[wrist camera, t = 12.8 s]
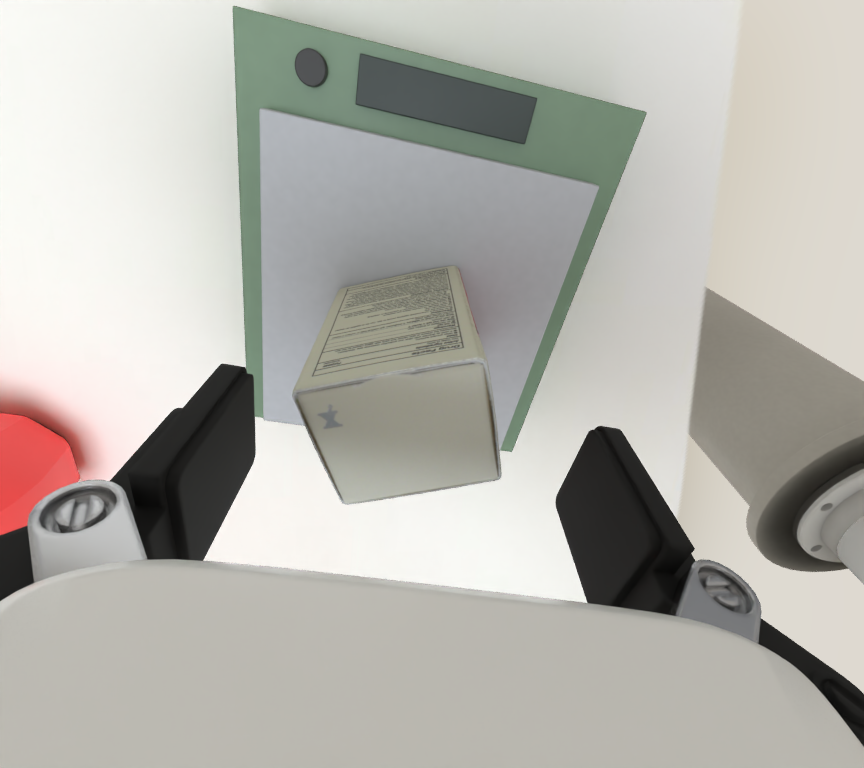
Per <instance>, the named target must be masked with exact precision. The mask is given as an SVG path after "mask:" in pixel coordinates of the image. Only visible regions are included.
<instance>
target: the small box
mask: <svg viewBox="0 0 864 768" xmlns="http://www.w3.org/2000/svg"><path fill="white" fill-rule="evenodd" d="M292 398H293V400H294V402H295V404H296V406H297V408H298V411H299V413H300V415H301V418H302V420H303V422H304V425H305V427H306V429H307V431H308V434H309V436H310V438H311V441H312V443H313V445H314V448H315V450H316V451H317V453H318V456H319V458H320V460H321V462H322V464H323V466H324V469H325V471H326V472H327V474H328V476H329V478H330V480H331V482H332V484H333V486H334V488H335V490H336V492H337V494H338V496H339V499H340V500H341V502H342V503H343V504H356V503H362V502H369V501H376V500H383V499H390V498H396V497H402V496H408V495H414V494H421V493H427V492H433V491H439V490H444V489H450V488H457V487H462V486H467V485H473V484H478V483H483V482H489V481H495V480H499V479H500V478H501V463H500V453H499V442H498V432H497V423H496V414H495V406H494V398H493V391H492V385H491V378H490V372H489V365H488V360H487V358H486V355H485V352H484V349H483V346H482V343H481V340H480V337H479V333H478V331H477V327H476V324H475V321H474V317H473V315H472V311H471V308H470V305H469V301H468V297H467V293H466V290H465V287H464V283H463V280H462V277H461V273H460V270H459V268H458V267H457V266H447V267H442V268H436V269H430V270H425V271H420V272H415V273H410V274H405V275H400V276H396V277H391V278H387V279H382V280H377V281H372V282H368V283H363V284H359V285H354V286H349V287H345V288H341V289H340V290H339V291H338V292H337V295H336V297H335V299H334V301H333V303H332V306H331V308H330V310H329V312H328V314H327V317H326V319H325V321H324V323H323V325H322V328H321V330H320V332H319V334H318V336H317V338H316V341H315V343H314V345H313V347H312V350H311V352H310V354H309V356H308V358H307V360H306V363H305V365H304V367H303V369H302V372H301V374H300V376H299V378H298V381H297V383H296V385H295V387H294V389H293V392H292Z"/></svg>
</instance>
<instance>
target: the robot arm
mask: <svg viewBox="0 0 864 768" xmlns="http://www.w3.org/2000/svg"><path fill="white" fill-rule="evenodd" d="M254 458H255V408H254V377H253V375H252V374H248V373H247V370H246V368H245V367H240V366H234V365H228V364H221V365H220V366H219V367H218V368H217V369H216V370H215V371H214V373H213V374H212V375H211V376H210V377H209V378H208V379H207V381H206V382H205V383H204V384H203V385H202V386H201V388H200V389H199V390H198V391H197V392H196V393H195V395H194V396H193V397H192V398H191V399H190V400H189V402H188V403H187V404H186V405H185V406H184V407H183V408H177V409H174V410H173V411H172V412H171V413H170V414H169V415H168V416H167V417H166V418H165V420H164V421H163V422H162V423H161V424H160V425H159V426H158V427H157V429H156V430H155V431H154V432H153V433H152V434H151V435H150V436H149V438H148V439H147V440H146V441H145V442H144V443H143V444H142V445H141V447H140V448H139V449H138V450H137V451H136V452H135V453H134V454H133V456H132V457H131V458H130V459H129V460H128V461H127V462H126V463H125V465H124V466H123V467H122V468H121V469H120V470H119V471H118V472H117V474H116V475H115V476H114V477H113V478H112V479H111V480H110V481H105V480H87V481H82V482H77V483H73V484H70V485H67V486H65V487H62V488H59V489H57V490H56V491H54V492H52V493H50V494H49V495H47V496H45V497H44V498H43V499H42V500H41V501H40V502H38V503H37V504H36V505H35V507H34V508H33V509H32V511H31V512H30V514H29V517H28V523H27V526H25V527H22V528H19V529H16V530H14V531H11V532H8V533H5V534H3V535H0V768H864V694H863V693H862V692H861V691H860V690H859V689H858V688H857V687H856V686H855V685H853V684H852V683H851V682H850V681H848V680H847V679H846V678H844V677H843V676H842V675H840V674H839V673H838V672H836V671H835V670H833V669H832V668H831V667H829V666H828V665H826V664H825V663H823V662H822V661H821V660H819V659H818V658H816V657H815V656H814V655H812V654H811V653H809V652H808V651H806V650H805V649H804V648H802V647H801V646H799V645H798V644H797V643H795V642H794V641H792V640H791V639H789V638H788V637H787V636H785V635H784V634H782V633H781V632H780V631H778V630H777V629H775V628H774V627H772V626H771V625H769V624H768V623H767V622H765V621H764V620H763V619H761V605H760V602H759V600H758V598H757V596H756V594H755V592H754V591H753V590H752V589H751V587H750V586H749V585H748V584H747V583H746V582H745V581H744V580H743V579H742V578H741V577H740V576H739V575H737V574H736V573H735V572H733V571H732V570H730V569H729V568H727V567H725V566H723V565H722V564H720V563H717V562H714V561H711V560H698V561H695V559H694V558H693V556H692V554H691V553H692V552H693V551H694V549H695V548H694V547H693V545H692V544H691V542H690V540H689V539H688V537H687V536H686V534H685V532H684V531H683V529H682V528H681V526H680V524H679V523H678V521H677V519H676V518H675V516H674V515H673V513H672V511H671V510H670V508H669V507H668V505H667V503H666V502H665V500H664V499H663V497H662V495H661V494H660V492H659V491H658V489H657V487H656V486H655V484H654V482H653V481H652V479H651V478H650V476H649V474H648V473H647V471H646V470H645V468H644V466H643V465H642V463H641V462H640V460H639V458H638V457H637V455H636V454H635V452H634V450H633V449H632V447H631V445H630V444H629V442H628V441H627V439H626V437H625V436H624V434H623V433H622V431H621V430H619V429H616V428H610V427H604V426H598V427H597V428H595V430H591V431H589V433H588V434H587V436H586V438H585V440H584V442H583V444H582V446H581V448H580V450H579V452H578V454H577V456H576V458H575V460H574V462H573V464H572V466H571V468H570V470H569V472H568V474H567V476H566V478H565V480H564V482H563V484H562V486H561V488H560V490H559V492H558V494H557V497H556V508H557V511H558V514H559V517H560V520H561V523H562V526H563V530H564V533H565V536H566V539H567V542H568V545H569V548H570V551H571V554H572V557H573V560H574V563H575V566H576V569H577V572H578V575H579V578H580V581H581V584H582V587H583V590H584V593H585V596H586V599H587V602H588V603H582V602H574V601H566V600H557V599H549V598H541V597H533V596H524V595H516V594H508V593H500V592H491V591H482V590H474V589H465V588H457V587H448V586H439V585H431V584H422V583H413V582H405V581H396V580H387V579H378V578H369V577H360V576H351V575H342V574H333V573H324V572H315V571H306V570H297V569H287V568H278V567H267V566H257V565H246V564H235V563H225V562H214V561H203V560H204V558H205V556H206V554H207V552H208V550H209V548H210V546H211V544H212V542H213V540H214V538H215V536H216V534H217V532H218V530H219V529H220V527H221V525H222V523H223V521H224V519H225V517H226V515H227V513H228V511H229V509H230V507H231V505H232V503H233V501H234V499H235V498H236V496H237V494H238V492H239V490H240V488H241V486H242V484H243V482H244V480H245V478H246V476H247V474H248V472H249V470H250V468H251V466H252V464H253V462H254ZM793 535H794V538H795V539H796V541H797V543H798V544H799V545H800V546H801V547H802V548H803V549H804V550H805V551H806V552H807V553H808V554H810V555H811V556H813V557H815V558H818V559H821V560H825V561H832V562H843V563H844V564H845V565H846V566H847V567H848V568H849V569H850V570H851V572H853V574H854V575H855V576H856V577H857V578H858V579H859V580H860V581H861V582H862V583H863V584H864V461H863V462H861V463H859V464H857V465H854V466H852V467H850V468H848V469H846V470H844V471H843V472H841V473H839V474H838V475H836V476H834V477H833V478H831V479H830V480H828V481H827V482H826V483H824V484H823V485H822V486H820V487H819V488H818V489H817V490H816V491H815V492H814V493H813V494H811V495H810V496H809V497H808V498H807V499H806V501H805V502H804V503H803V505H802V506H801V507H800V509H799V511H798V513H797V515H796V517H795V519H794V523H793Z"/></svg>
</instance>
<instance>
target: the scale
mask: <svg viewBox="0 0 864 768" xmlns="http://www.w3.org/2000/svg"><path fill="white" fill-rule="evenodd" d="M233 29H234V56H235V83H236V109H237V136H238V163H239V190H240V217H241V244H242V270H243V297H244V324H245V351H246V370H247V373H248V374H252V375H253V377H254V408H255V417H262V418H263V419H264V420H267V421H274V422H281V423H289V424H296V425H303V426H305V425H304V422H303V420H302V418H301V415H300V413H299V411H298V408H297V406H296V404H295V402H294V400H293V398H292V392H293V389H294V387H295V385H296V383H297V381H298V378H299V376H300V374H301V372H302V369H303V367H304V365H305V363H306V360H307V358H308V356H309V354H310V352H311V350H312V347H313V345H314V343H315V341H316V338H317V336H318V334H319V332H320V330H321V328H322V325H323V323H324V321H325V319H326V317H327V314H328V312H329V310H330V308H331V306H332V303H333V301H334V299H335V297H336V295H337V292H338V291H339V290H340V289H341V288H345V287H349V286H354V285H359V284H363V283H368V282H372V281H377V280H382V279H387V278H391V277H396V276H400V275H405V274H410V273H415V272H420V271H425V270H430V269H436V268H442V267H447V266H457V267H458V268H459V270H460V273H461V277H462V280H463V283H464V287H465V290H466V293H467V297H468V301H469V305H470V308H471V311H472V315H473V317H474V321H475V324H476V327H477V331H478V333H479V337H480V340H481V343H482V346H483V349H484V352H485V355H486V358H487V360H488V365H489V372H490V378H491V385H492V391H493V398H494V406H495V414H496V423H497V432H498V442H499V452H500V450H502V451H510V452H512V450H513V448H514V445H515V443H516V440H517V438H518V435H519V433H520V430H521V428H522V425H523V423H524V420H525V418H526V415H527V413H528V410H529V408H530V405H531V403H532V400H533V398H534V395H535V393H536V390H537V388H538V385H539V383H540V380H541V377H542V375H543V372H544V370H545V367H546V365H547V362H548V360H549V357H550V355H551V352H552V350H553V347H554V345H555V342H556V340H557V337H558V335H559V332H560V330H561V327H562V325H563V322H564V320H565V317H566V315H567V312H568V310H569V307H570V305H571V302H572V300H573V297H574V295H575V292H576V290H577V287H578V285H579V282H580V279H581V277H582V274H583V272H584V269H585V267H586V264H587V262H588V259H589V257H590V254H591V252H592V249H593V247H594V244H595V242H596V239H597V237H598V234H599V232H600V229H601V227H602V224H603V222H604V219H605V217H606V214H607V212H608V209H609V207H610V204H611V202H612V199H613V197H614V194H615V192H616V189H617V187H618V184H619V182H620V179H621V176H622V174H623V171H624V169H625V166H626V164H627V161H628V159H629V156H630V154H631V151H632V149H633V146H634V144H635V141H636V139H637V136H638V134H639V131H640V129H641V126H642V124H643V121H644V119H645V116H646V112H644V111H640V110H636V109H633V108H629V107H625V106H621V105H617V104H613V103H609V102H605V101H602V100H598V99H594V98H590V97H586V96H582V95H578V94H574V93H570V92H567V91H563V90H559V89H555V88H551V87H547V86H543V85H539V84H536V83H532V82H528V81H524V80H520V79H516V78H512V77H508V76H505V75H501V74H497V73H493V72H489V71H485V70H481V69H477V68H474V67H470V66H466V65H462V64H458V63H454V62H450V61H446V60H443V59H439V58H435V57H431V56H427V55H423V54H419V53H415V52H412V51H408V50H404V49H400V48H396V47H392V46H388V45H384V44H381V43H377V42H373V41H369V40H365V39H361V38H357V37H353V36H349V35H346V34H342V33H338V32H334V31H330V30H326V29H322V28H318V27H315V26H311V25H307V24H303V23H299V22H295V21H291V20H287V19H284V18H280V17H276V16H272V15H268V14H264V13H260V12H256V11H253V10H249V9H245V8H241V7H237V6H233Z"/></svg>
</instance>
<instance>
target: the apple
mask: <svg viewBox="0 0 864 768" xmlns="http://www.w3.org/2000/svg"><path fill="white" fill-rule="evenodd" d="M79 479H80V476H79V473H78V470H77V467H76V463H75V460H74V457H73V454H72V451H71V448H70V445H69V444H68V443H67V441H66V440H65V439H64V438H63V437H61V436H59V435H58V434H56V433H54V432H53V431H51V430H49V429H47V428H46V427H44V426H42V425H40V424H39V423H37V422H35V421H33V420H31V419H30V418H28V417H26V416H20V415H12V414H5V413H0V535H3V534H5V533H8V532H11V531H14V530H16V529H19V528H22V527H25V526H27V523H28V517H29V514H30V512H31V511H32V509H33V508H34V507H35V505H36V504H37V503H38V502H40V501H41V500H42V499H43V498H44V497H45V496H47V495H49V494H50V493H52V492H54V491H56V490H57V489H59V488H62V487H65V486H67V485H70V484H73V483H77V482H78V481H79Z"/></svg>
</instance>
